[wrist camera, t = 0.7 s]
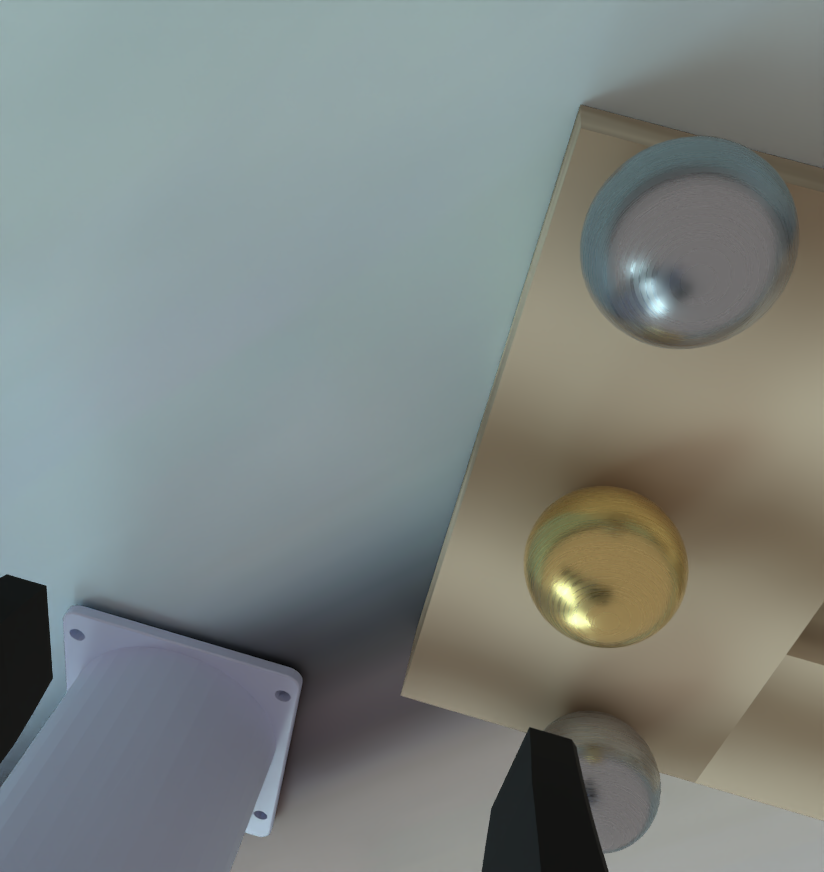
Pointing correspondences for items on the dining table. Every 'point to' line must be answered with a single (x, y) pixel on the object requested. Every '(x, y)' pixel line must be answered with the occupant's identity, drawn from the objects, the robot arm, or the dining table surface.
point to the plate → (671, 491)
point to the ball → (606, 567)
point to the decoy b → (689, 242)
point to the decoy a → (613, 775)
